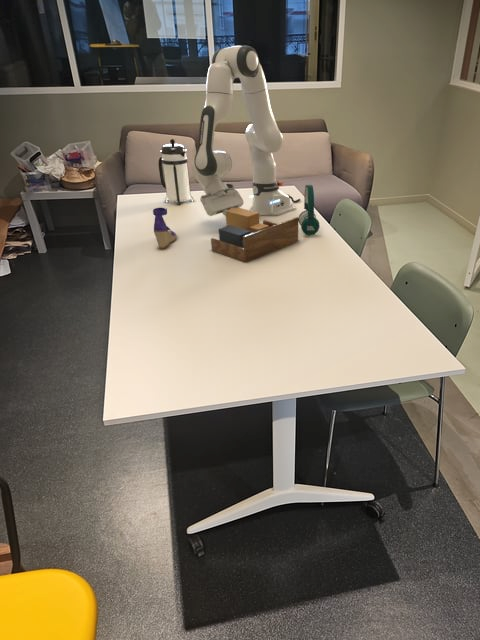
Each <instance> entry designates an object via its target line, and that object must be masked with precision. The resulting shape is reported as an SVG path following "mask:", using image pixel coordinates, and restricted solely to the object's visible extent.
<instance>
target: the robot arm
mask: <svg viewBox="0 0 480 640" xmlns="http://www.w3.org/2000/svg"><path fill="white" fill-rule="evenodd" d="M235 79H239V81H240V85H241V92H242V97H243V102H244V107H245V113H246V114H247V116H248V118H249V120H250V122H251V123H250V124H249V125H248V126H247V128H246V130H245V135H244V136H245V140H246V142H247V143H248V149H249V153H250V158H251V163H252V178H253V179H252V180H253V181H252V193H253V194H252V195H249V198H250V199H252V204H251V209H250V211H254V212H258V213H259V216H279V215H282V214H285V213H288V212H291V211H294V210H296V207H295V206H294V205H293V204H291V202H292V203H298V202H300V201H301V198H298V199H296V200H295V199H294V197H293V196H291V195H290V194H289V193H286V192H284V191H283V190H282V189H281V188H280V187H283V185H284V182H283V181H280V180H279V181H278V180H277V164H276V161H275V158H274V155H273V153H277V152H279V151H280V150H281V149H282V147H283V144H284V137H283V134H282V133H281V131H280V129H279V126H278V124H277V121H276V119H275V115H274V112H273V110H272V106H271V102H270V95H269V91H268V90H269V89H268V84H267V80H266V76H265V72H264V70H263V67H262V64H261V63H260V58H259V54H258V53H257V51H256V49H255V48H254V47H252V46H250V45H232V46H229V47H223V48H222V47H221V48H219V49H218V50H216V51H215V52H214V53H213V55H212V58H211V64H210V66H209V67H208V71H207V75H206V88H205V91H206V92H205V103H204V107H203V109H202V110H201V115H200V122H199V128H198V129H199V130H198V139H197V148H196V152H195V155H194V159H193V161H192V163H191V170H192V173H193V176H194V177H195V179H196V181H197V182H198V184H199V185H200V186H201V187H202V190H203V192H204V195H203V194H202V195H201V196H200V198H199V199H200V200H199V201H200V202H201V204H202V206H203V209H204V210H205V213H206V214H207V216H209V217H213V216H217V215H219V214H222V215H223V216H225V217H226V211H227V210H230V209H233V208H236V207H238V208H242V206H243V205H244V203H245V201H244V199H243V197H242V195H241V194H240V192H239V191H238V190H237V189H235V188H236V187H235V185H234V183H229V182H223V181H222V180H221V178H223V177H224V176H226V175H227V174H228V173H230V171H231V170H232V166H233V161H232V158H231V156H230V154H229V153H228V152H227V151H223V150H214V138H215V130H216V126H217V125H218V123H220V122H221V121H223V120H225V119H226V118H228V116H229V115H231V113H232V110H233V106H234V81H235Z"/></svg>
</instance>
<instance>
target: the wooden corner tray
mask: <svg viewBox="0 0 480 640" xmlns="http://www.w3.org/2000/svg"><path fill="white" fill-rule="evenodd" d="M298 218H299V216H298V217H297V216H296V217H293V218H290V219H287V220H285V221H282V222H278V223H276V222H272V221H269V220H265V219H264V220H262V224H265V225H269V227H268V228H265V229H262V230H259V231H257V232H254V233H252V232H251V234H248V235H245V236H243V248H242V247H239V246H236V245H232V244H229V243H226V242H223V241H220V240H219V239H216V238H214V237H212V238H210V245H211V246H210V247H211V251H212V252H215V253H217V254H221V255H224V256H227V257H230V258H231V259H232V258H233V259H235V260H238V261H241V262H244V263H248V262H250V261H252V260H255V259H257V258H260V257H262V256H265V255H267V254H270V253H273V252H275V251H277V250H280V249H282V248H285V247H287V246H290V245H292V244H294V243H297V242H299V222H298Z"/></svg>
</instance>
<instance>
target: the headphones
mask: <svg viewBox="0 0 480 640" xmlns="http://www.w3.org/2000/svg"><path fill="white" fill-rule="evenodd" d="M303 209H304V211H302V212H301V213H300V214H299V215H298V225H300V227H301V231H302V233H304V234H305V235H306V236H314V235H316V234H317V233H318V232H319V230H320V221H319V220H318V219H317V217H316V213H315V192H314V185H313V184H305V187H304V199H303Z"/></svg>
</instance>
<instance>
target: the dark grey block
mask: <svg viewBox="0 0 480 640" xmlns="http://www.w3.org/2000/svg"><path fill="white" fill-rule="evenodd" d="M248 234H251V231H248V230H244V229H241V228H238V227H234V226H231V225H229V226H227V225H226V226H224V227H221V228H218V236H219V237H218V238H219V239H218V240H220V241H223V242H226V243H229V244H232V245H236V246H239V247H242V248H243V236H245V235H248Z"/></svg>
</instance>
